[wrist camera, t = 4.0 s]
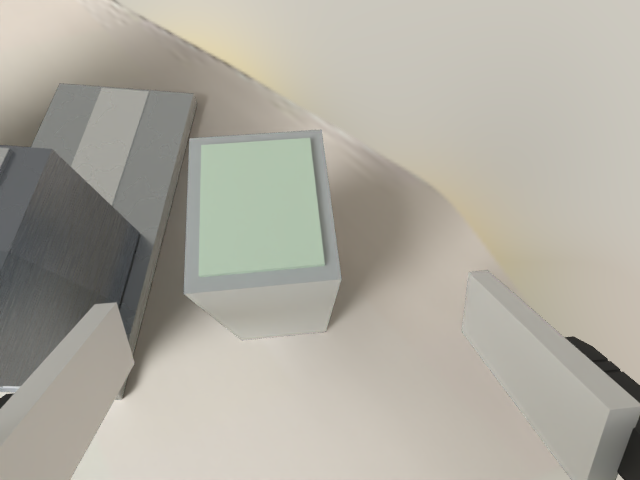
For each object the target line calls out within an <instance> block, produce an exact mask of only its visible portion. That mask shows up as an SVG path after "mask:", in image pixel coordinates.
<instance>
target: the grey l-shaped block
mask: <svg viewBox="0 0 640 480" xmlns="http://www.w3.org/2000/svg"><path fill="white" fill-rule="evenodd" d="M196 106H197V101H196V99H195V96H194V94H192V93H179V92H166V91H153V90H140V89H127V88H113V87H100V86H87V85H74V84H61V83H60V84H59V86H58V88H57V90H56V93H55V95H54V97H53V99H52V102H51V104H50V106H49V108H48V110H47V113H46V115H45V117H44V119H43V121H42V124H41V126H40V128H39V130H38V132H37V135H36V137H35V139H34V141H33V144H32V146H31V147H20V146H7V145H0V391H1V392H16V391H17V390H18V389H19V388H20V387H21V385H22V384H23V383H24V382H25V381H26V380H27V379H28V378H29V377H30V375H31V374H32V373H33V372H34V371H35V370H36V369H37V368H38V367H39V365H40V364H41V363H42V362H43V361H44V360H45V359H46V358H47V357H48V356H49V354H50V353H51V352H52V351H53V350H54V349H55V348H56V347H57V346H58V344H59V343H60V342H61V341H62V340H63V339H64V338H65V337H66V336H67V334H68V333H69V332H70V331H71V330H72V329H73V328H74V327H75V326H76V324H77V323H78V322H79V321H80V320H81V319H82V318H83V317H84V316H85V314H86V313H87V312H88V311H89V310H90V309H91V308H92V307H93V306H94V304H103V303H114V302H117V305H118V309H119V312H120V315H121V319H122V322H123V325H124V329H125V332H126V335H127V339H128V342H129V345H130V349H131V352H132V355H133V354H134V350H135V346H136V342H137V338H138V334H139V331H140V327H141V323H142V319H143V315H144V311H145V307H146V303H147V299H148V295H149V291H150V287H151V283H152V279H153V275H154V272H155V268H156V264H157V260H158V256H159V252H160V248H161V244H162V240H163V236H164V232H165V228H166V224H167V220H168V216H169V212H170V209H171V205H172V201H173V197H174V193H175V189H176V185H177V181H178V177H179V173H180V169H181V165H182V161H183V157H184V153H185V150H186V146H187V142H188V138H189V134H190V130H191V126H192V122H193V118H194V114H195V110H196ZM127 378H128V376H127ZM127 378H126V380H125V382H124V384H123V385H122V387H121V389H120V391H119V393H118V394H117V396H116V398H115V400H122V397H123V393H124V390H125V386H126V382H127Z"/></svg>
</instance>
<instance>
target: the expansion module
mask: <svg viewBox="0 0 640 480" xmlns="http://www.w3.org/2000/svg"><path fill="white" fill-rule="evenodd" d="M341 280H342V278H341V271H340V263H339V256H338V249H337V241H336V234H335V226H334V219H333V211H332V204H331V196H330V189H329V181H328V174H327V166H326V159H325V151H324V144H323V136H322V130H309V131H293V132H278V133H263V134H247V135H232V136H217V137H201V138H189V160H188V188H187V216H186V244H185V271H184V295H185V296H187V297H188V298H189V299H190V300H192V301H193V302H194V303H195V304H197V305H198V306H199V307H200V308H202V309H203V310H204V311H205V312H207V313H208V314H209V315H210V316H212V317H213V318H214V319H215V320H217V321H218V322H219V323H220V324H222V325H223V326H224V327H225V328H227V329H228V330H229V331H231V332H232V333H233V334H234V335H236V336H237V337H238V338H239V339H241V340H251V339H261V338H270V337H280V336H290V335H299V334H309V333H319V332H326V330H327V326H328V323H329V320H330V316H331V313H332V310H333V306H334V303H335V300H336V296H337V293H338V290H339V286H340V283H341Z"/></svg>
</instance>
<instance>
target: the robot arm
mask: <svg viewBox="0 0 640 480" xmlns="http://www.w3.org/2000/svg"><path fill="white" fill-rule="evenodd" d="M462 333H463V334H464V335H465V337H466V338H467V339H468V341H469V342H470V344H471V345H472V346H473V348H474V349H475V350H476V352H477V353H478V354H479V356H480V357H481V358H482V360H483V361H484V362H485V364H486V365H487V367H488V368H489V369H490V371H491V372H492V373H493V375H494V376H495V377H496V379H497V380H498V381H499V383H500V384H501V385H502V387H503V388H504V390H505V391H506V392H507V394H508V395H509V396H510V398H511V399H512V400H513V402H514V403H515V404H516V406H517V407H518V408H519V410H520V411H521V413H522V414H523V415H524V417H525V418H526V419H527V421H528V422H529V423H530V425H531V426H532V427H533V429H534V430H535V431H536V433H537V434H538V436H539V437H540V438H541V440H542V441H543V442H544V444H545V445H546V446H547V448H548V449H549V450H550V452H551V453H552V454H553V456H554V457H555V459H556V460H557V461H558V463H559V464H560V465H561V467H562V468H563V469H564V471H565V472H566V473H567V475H568V476H569V477H570V479H571V480H616V478H617V475H618V473H619V475H620V476H621V477H622V478H623V479H624V480H640V385H638V384H637V383H636V382H635V381H634V380H633V379H631V378H630V377H629V376H628V375H626V374H625V373H624V372H621V371H620V369H619V368H618V367H617V366H615V365H614V364H613V363H612V362H611V361H608V359H607V358H606V357H605V356H603V355H602V354H601V353H600V352H598V351H597V350H596V349H595V348H594V347H593V346H591V345H589V344H587V343H585V342H583V341H581V340H579V339H577V338H575V337H563V336H562V335H561V334H560V333H559V332H558V331H557V330H555V329H554V328H553V327H552V326H551V325H550V324H549V323H548V322H546V321H545V320H544V319H543V318H542V317H541V316H540V315H538V314H537V313H536V312H535V311H534V310H533V309H532V308H530V307H529V306H528V305H527V304H526V303H525V302H524V301H522V300H521V299H520V298H519V297H518V296H517V295H516V294H514V293H513V292H512V291H511V290H510V289H509V288H508V287H506V286H505V285H504V284H503V283H502V282H501V281H500V280H498V279H497V278H496V277H495V276H494V275H493V274H492V273H490V272H489V271H488V270H485V271H473V272H468V281H467V290H466V298H465V307H464V316H463V324H462ZM134 364H135V362H134V359H133V355H132V352H131V349H130V345H129V342H128V339H127V335H126V332H125V329H124V325H123V322H122V319H121V315H120V312H119V309H118V305H117V302H114V303H103V304H94V306H93V307H92V308H91V309H90V310H89V311H88V312H87V313H86V314H85V316H84V317H83V318H82V319H81V320H80V321H79V322H78V323H77V324H76V326H75V327H74V328H73V329H72V330H71V331H70V332H69V333H68V334H67V336H66V337H65V338H64V339H63V340H62V341H61V342H60V343H59V344H58V346H57V347H56V348H55V349H54V350H53V351H52V352H51V353H50V354H49V356H48V357H47V358H46V359H45V360H44V361H43V362H42V363H41V364H40V365H39V367H38V368H37V369H36V370H35V371H34V372H33V373H32V374H31V375H30V377H29V378H28V379H27V380H26V381H25V382H24V383H23V384H22V385H21V387H20V388H19V389H18V390H17V391H16V392H15V393H14V394H6V395H4V396H3V397H2V398H0V480H70V479H71V477H72V475H73V474H74V472H75V470H76V468H77V466H78V465H79V463H80V461H81V459H82V457H83V456H84V454H85V452H86V450H87V448H88V447H89V445H90V443H91V441H92V439H93V438H94V436H95V434H96V432H97V430H98V429H99V427H100V425H101V423H102V421H103V420H104V418H105V416H106V414H107V412H108V411H109V409H110V407H111V405H112V403H113V402H114V400H115V398H116V396H117V394H118V393H119V391H120V389H121V387H122V385H123V384H124V382H125V380H126V378H127V376H128V375H129V373H130V371H131V369H132V367H133V366H134Z"/></svg>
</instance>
